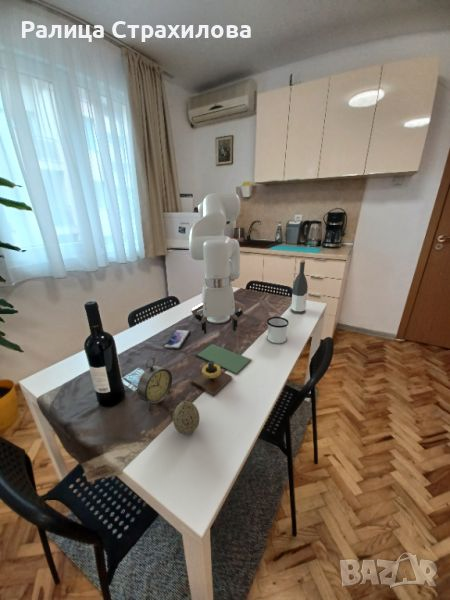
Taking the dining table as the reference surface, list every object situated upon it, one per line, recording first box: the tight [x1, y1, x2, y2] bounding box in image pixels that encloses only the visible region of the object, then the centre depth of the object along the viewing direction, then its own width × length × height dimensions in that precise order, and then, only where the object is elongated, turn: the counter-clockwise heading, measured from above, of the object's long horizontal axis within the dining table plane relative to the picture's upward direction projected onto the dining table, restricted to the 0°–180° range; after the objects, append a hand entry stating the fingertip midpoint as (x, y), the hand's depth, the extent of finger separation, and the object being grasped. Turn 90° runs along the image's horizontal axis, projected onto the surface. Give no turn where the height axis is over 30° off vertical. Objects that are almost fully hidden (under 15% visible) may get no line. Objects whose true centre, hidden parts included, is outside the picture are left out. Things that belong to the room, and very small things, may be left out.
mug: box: [266, 316, 290, 344], centre depth 109 cm, size 12×10×9 cm
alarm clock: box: [136, 357, 173, 411], centre depth 74 cm, size 11×5×16 cm, turn 148°
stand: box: [191, 361, 233, 396], centre depth 83 cm, size 10×10×8 cm
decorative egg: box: [172, 400, 200, 435], centre depth 65 cm, size 7×7×10 cm
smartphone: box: [164, 329, 190, 349], centre depth 111 cm, size 7×1×15 cm
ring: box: [201, 363, 222, 378], centre depth 83 cm, size 6×6×1 cm
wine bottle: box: [290, 258, 309, 315], centre depth 131 cm, size 8×8×30 cm
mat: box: [196, 343, 251, 375], centre depth 97 cm, size 20×10×1 cm, turn 53°
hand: (219, 330), depth 79 cm, fingers open, 9 cm apart
